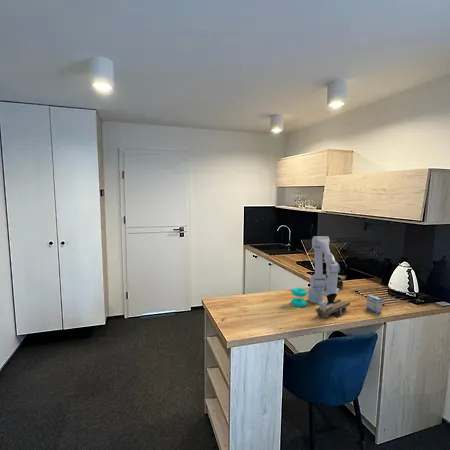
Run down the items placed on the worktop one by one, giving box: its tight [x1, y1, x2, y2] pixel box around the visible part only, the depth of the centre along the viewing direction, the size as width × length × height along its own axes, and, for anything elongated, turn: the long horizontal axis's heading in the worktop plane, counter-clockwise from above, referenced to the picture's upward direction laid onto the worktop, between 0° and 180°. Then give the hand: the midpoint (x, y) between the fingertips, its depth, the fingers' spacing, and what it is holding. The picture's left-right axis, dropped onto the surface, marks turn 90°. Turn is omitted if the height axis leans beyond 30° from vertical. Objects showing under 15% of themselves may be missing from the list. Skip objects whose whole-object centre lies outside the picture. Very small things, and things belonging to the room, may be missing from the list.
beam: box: [315, 298, 351, 319], centre depth 185 cm, size 7×26×4 cm, turn 129°
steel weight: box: [318, 300, 333, 312], centre depth 180 cm, size 4×7×4 cm, turn 129°
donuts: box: [290, 287, 308, 308], centre depth 197 cm, size 10×10×10 cm
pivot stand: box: [329, 307, 347, 318], centre depth 187 cm, size 11×16×4 cm
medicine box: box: [365, 294, 384, 314], centre depth 190 cm, size 8×4×9 cm, turn 24°
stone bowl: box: [316, 273, 347, 290], centre depth 239 cm, size 25×25×9 cm
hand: (330, 305), depth 182 cm, fingers closed
